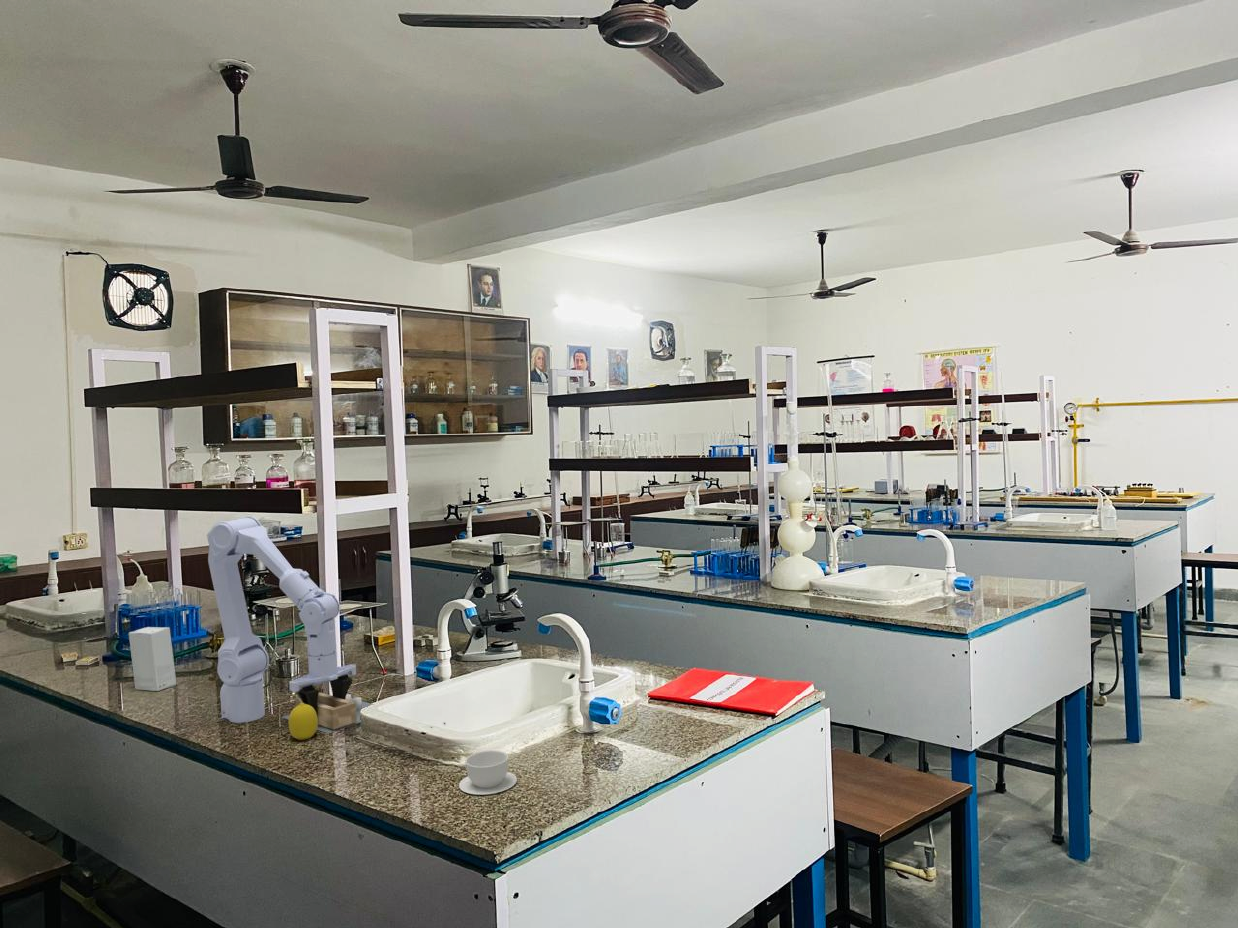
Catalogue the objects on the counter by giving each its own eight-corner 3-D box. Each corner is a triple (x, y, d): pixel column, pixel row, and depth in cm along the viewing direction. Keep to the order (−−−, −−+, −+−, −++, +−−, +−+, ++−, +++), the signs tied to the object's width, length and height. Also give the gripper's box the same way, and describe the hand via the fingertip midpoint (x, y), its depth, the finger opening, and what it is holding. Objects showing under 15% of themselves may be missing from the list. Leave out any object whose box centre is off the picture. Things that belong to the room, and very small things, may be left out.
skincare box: (177, 685, 218) (172, 626, 217) (155, 692, 213) (151, 632, 212) (153, 682, 221) (149, 625, 221) (132, 689, 216) (127, 630, 215)
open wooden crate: (296, 716, 185) (295, 698, 185) (319, 709, 189) (318, 691, 189) (333, 729, 176) (332, 710, 176) (356, 721, 180) (355, 702, 180)
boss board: (281, 721, 187) (280, 705, 186) (346, 700, 199) (345, 685, 199) (328, 737, 175) (327, 720, 175) (394, 714, 188) (393, 699, 188)
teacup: (503, 799, 143) (502, 771, 143) (448, 794, 146) (447, 767, 146) (525, 775, 153) (524, 748, 153) (474, 771, 156) (472, 745, 155)
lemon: (284, 744, 173) (281, 704, 173) (307, 735, 178) (305, 696, 177) (301, 749, 170) (298, 709, 169) (325, 739, 174) (322, 700, 174)
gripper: (301, 663, 174) (305, 730, 175) (363, 647, 185) (366, 709, 186) (282, 658, 178) (286, 723, 179) (344, 643, 190) (347, 704, 190)
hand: (325, 716), depth 183 cm, fingers closed on open wooden crate, 5 cm apart
